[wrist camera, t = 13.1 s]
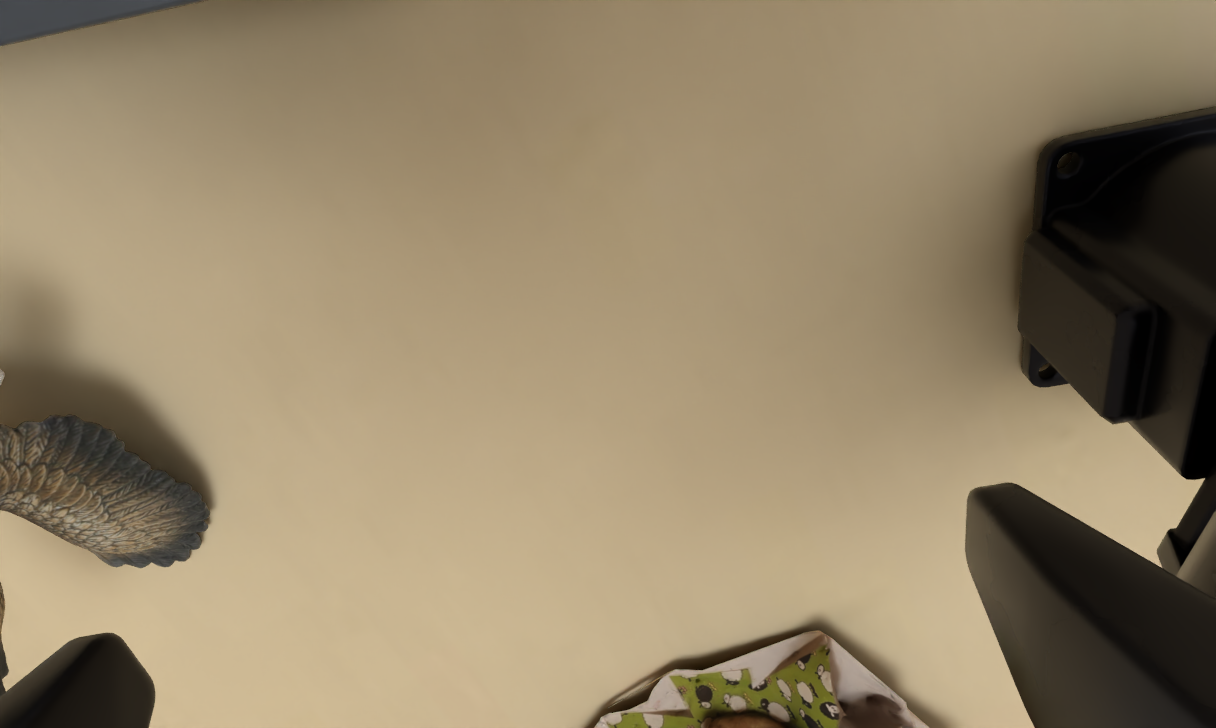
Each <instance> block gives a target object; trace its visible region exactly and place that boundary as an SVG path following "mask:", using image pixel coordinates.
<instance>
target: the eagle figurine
mask: <svg viewBox="0 0 1216 728" xmlns="http://www.w3.org/2000/svg"><path fill="white" fill-rule="evenodd" d="M3 379H4V372H3V371H2V370H1V369H0V386H1V384H2V381H3ZM124 447H125V443H124V442H123V441H122V440H119V439H118V438H116V434H115V432H114V431H113V430H110V429H106V428H103V427H102V426H101V425H99V424H96V423H91V422H84V421H83V420H81V419H80V418H79V417H77V416H75V415H70V414H69V415H67V416H64V417H62V416H59V415H50V416H49V417H48V418H46V419H45V420H44V421H42V422H34V421H27V422H23V423H21V424H20V425H19V426H18V427H17V428H15V429H13V428H11V427H9V426H7V425H4V424H0V510H3V511H8V512H11V513H13V514H15V515H17V516H20V517H22V518H24V519H26V520H28V521H30V522H32V523H34V524H36V525H38V526H40V527H42V528H44V529H46V530H47V531H49V532H51V533H53V534H55V535H56V536H58V537H60V538H62V539H64V540H66V541H68V542H70V543H72V544H74V545H77V546H80V547H82V548H85V549H88V550H89V551H91V552H93V553H94V554H95V555H96V556H97V557H98V558H100V559H101V560H102V561H104V562H105V563H107V564H108V565H110V566H113V567H119V566H122V565H124V564H128V565H132V566H135V567H138V568H143V567H146V566H147V565H149V564H150V563H151V562H152V563H154V564H156V565H158V566H162V567H169V566H171V565H172V564H173V562H174V561H175V560H177V561H186V560H187V559H188V558H189V557H190V552H189V551H190V550H195V549H198V548H200V546H201V539H200V536H199V535H198V534H197V533H196V532H202V531H205V530H206V529H207V528H208V525H207V524H206V523H205V521H204V520H205V519H207V518H208V517H209V515H210V511H209V510H208V508H207V505H206V503H205V502H203V501H201V499H202V496H201V494H199V493H198V492H196V491H193V490H192V486H191V485H190V484H188V483H186V482H182V483H177V482H175V480H174V478H172V477H171V476H169V475H168V474H167V472H165V471H162V470H151V466H150V464H148V463H147V462H146V461H141V460H140V458H139V456H138V455H136V454H135V453H132V452H126V451H125V450H124ZM4 611H5V599H4V595H3V589H2V586H1V583H0V696H2V695H3V694H4V693H5V692H6V691H5V688H4V686H3V682H2V679H3V678H4V677H5V676H6V675H7V674H8V672H9V670H8V666H7V663H6V657H5V653H4V650H3V645H2V641H1V629H2V623H3V618H4Z"/></svg>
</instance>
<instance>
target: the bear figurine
mask: <svg viewBox="0 0 1216 728" xmlns="http://www.w3.org/2000/svg"><path fill="white" fill-rule="evenodd" d="M668 673H669V674H668ZM668 673H666V674H667V675H666V674H664V675H662V676H661V677H662V679H661V680H660V681H659V682H658V684H657V685H656V686H655V687H654V689H653V691H652V693H651V695H650V697H649V699H648V701H646V702H644V703H642V704H640V705H638V706H636V707H634V708H632V709H630V710H625V711H620V712H615V713H613V714H612V713H609V714H606V715H605V716H603V717H600V721H599V722H598V723H597V725H596V726H595V727H594V728H929V727H928V726H927V725H926V724H925V723H924V722H923V721H921V720H920V719H919V718H918V717H917V716H915V715H914V714H913V713H912V712H911V711H910V710H909V709H908V708H907V706H906V704H907V703H906V702H905V701H904V700H903V699H902V698H901V697H899V696H898V695H897V694H896V693H895V692H894V691H893V690H891V689H890V688H889V687H888V686H887V685H886V684H884V683H883V682H882V681H881V680H880V679H879V678H877V677H876V676H875V675H874V674H873V673H872V672H870V671H869V670H868V669H867V668H866V667H865V666H864V665H862V664H861V663H860V662H859V661H858V660H857V659H855V658H854V657H853V656H852V655H851V654H850V653H848V652H847V651H846V650H845V649H844V648H843V647H841V646H840V645H839V644H838V643H837V642H836V641H834V640H833V639H832V638H831V637H829V636H827V635H826V634H824V633H823V632H821V631H819V630H818V631H811V632H804V633H803V634H800V635H798V636H795V637H792V638H789V639H787V640H784V641H781V642H778V643H776V644H773V645H770V646H768V647H765V648H762V649H759V650H757V651H754V652H751V653H748V654H746V655H743V656H740V657H738V658H735V659H732V660H729V661H727V662H724V663H721V664H718V665H716V666H713V667H710V668H708V669H705V670H683V669H675V670H674V671H670V672H668ZM665 675H666V676H665ZM663 676H664V677H663ZM661 677H659V678H661ZM659 678H657V679H656V680H658V679H659ZM656 680H654V681H656ZM654 681H653V682H654ZM651 683H652V682H651ZM649 684H650V683H649ZM649 684H648V685H649ZM646 686H647V685H646ZM644 687H645V686H644ZM641 689H642V688H641ZM639 690H640V689H639ZM634 693H635V692H634ZM629 696H630V695H629ZM627 697H628V696H627ZM624 699H625V698H624ZM622 700H623V699H622ZM620 701H621V700H620ZM620 701H619V702H620ZM617 703H618V702H617ZM615 704H616V703H615ZM615 704H613V705H615ZM613 705H612V706H613ZM612 706H610V707H612ZM610 707H608V708H610Z"/></svg>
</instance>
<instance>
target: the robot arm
mask: <svg viewBox="0 0 1216 728" xmlns="http://www.w3.org/2000/svg"><path fill="white" fill-rule="evenodd" d="M1070 152H1071V154H1072V157H1071V160H1070V162H1069V163H1068V164H1067V165H1066V166H1065V167H1063V168H1061V169H1058V167H1057V165H1058V163H1059V160H1060V159H1061V158H1062V157H1063V156H1064V155H1065V154H1068V153H1070ZM1018 330H1019V332H1020V333H1021V334H1022V335H1023V336H1024V340H1023V353H1022V366H1021V367H1022V372H1023V374H1024V375H1025V376H1026V377H1027V378H1028V379H1029V381H1030V382H1031V383H1032V384H1033V385H1035V386H1037V387H1051V386H1057V385H1063V384H1070V385H1071V386H1072V387H1073V388H1074V389H1075V390H1076V391H1077V392H1078V393H1079V394H1080V395H1081V396H1082V397H1083V398H1084V399H1085V400H1086V402H1087V403H1088V404H1089V405H1090V406H1091V407H1092V408H1093V409H1094V410H1095V411H1096V412H1097V413H1098V414H1099V415H1100V416H1101V417H1103V418H1104V419H1106V420H1107V421H1108V422H1110V423H1112V424H1118V423H1124V422H1128V423H1129V424H1130V425H1131V426H1132V427H1133V428H1134V429H1135V430H1136V431H1137V432H1138V433H1139V434H1140V435H1141V436H1142V437H1143V438H1144V439H1145V440H1146V441H1147V442H1148V443H1149V444H1150V445H1151V446H1152V447H1153V448H1154V449H1155V450H1156V451H1157V452H1158V453H1159V454H1160V455H1161V456H1162V457H1163V458H1164V459H1165V460H1166V461H1167V462H1168V463H1169V464H1170V465H1171V466H1172V467H1173V468H1174V469H1175V470H1176V471H1177V472H1178V473H1179V474H1180V475H1181V476H1183V477H1184V478H1185V479H1190V480H1196V479H1202V478H1205V480H1204V482H1203V483H1202V485H1201V487H1200V489H1199V490H1198V492H1197V494H1196V495H1195V497H1194V499H1193V501H1192V502H1191V504H1190V506H1189V507H1188V509H1187V511H1186V513H1185V514H1184V516H1183V518H1182V519H1181V521H1180V523H1179V525H1178V526H1177V528H1174V529H1170V530H1168V532H1167V533H1166V535H1165V537H1164V539H1163V540H1162V542H1161V544H1160V545H1159V547H1158V549H1157V554H1158V557H1159V560H1160V562H1161V565H1162V568H1161V567H1159V566H1157V565H1156V564H1154V563H1152V562H1151V561H1149V560H1147V559H1145V558H1144V557H1142V556H1140V555H1138V554H1137V553H1135V552H1133V551H1132V550H1130V549H1128V548H1126V547H1125V546H1123V545H1121V544H1119V543H1118V542H1116V541H1114V540H1113V539H1111V538H1109V537H1107V536H1106V535H1104V534H1102V533H1100V532H1099V531H1097V530H1095V529H1094V528H1092V527H1090V526H1088V525H1087V524H1085V523H1083V522H1081V521H1080V520H1078V519H1076V518H1075V517H1073V516H1071V515H1069V514H1068V513H1066V512H1064V511H1063V510H1061V509H1059V508H1057V507H1056V506H1054V505H1052V504H1050V503H1049V502H1047V501H1045V500H1044V499H1042V498H1040V497H1038V496H1037V495H1035V494H1033V493H1031V492H1030V491H1028V490H1026V489H1025V488H1023V487H1021V486H1019V485H1017V484H1014V483H1001V484H995V485H989V486H983V487H977V488H975V489H973V490H972V491H971V492H970V493H969V496H968V499H967V516H966V540H965V552H966V559H967V564H968V567H969V570H970V573H971V576H972V578H973V581H974V583H975V586H976V588H977V590H978V593H979V595H980V598H981V600H982V603H983V605H984V608H985V610H986V613H987V615H988V618H989V620H990V623H991V625H992V628H993V630H994V633H995V635H996V637H997V640H998V642H999V645H1000V647H1001V650H1002V652H1003V655H1004V657H1005V660H1006V662H1007V665H1008V667H1009V670H1010V672H1011V675H1012V677H1013V680H1014V682H1015V685H1016V687H1017V689H1018V692H1019V694H1020V696H1021V699H1022V701H1023V703H1024V706H1025V708H1026V710H1027V713H1028V715H1029V717H1030V719H1031V721H1032V723H1033V725H1034V727H1035V728H1216V107H1211V108H1206V109H1201V110H1196V111H1191V112H1186V113H1181V114H1176V115H1170V116H1165V117H1160V118H1155V119H1150V120H1145V121H1140V122H1134V123H1129V124H1124V125H1119V126H1114V127H1109V128H1104V129H1098V130H1093V131H1088V132H1083V133H1078V134H1073V135H1068V136H1062V137H1060V138H1057V139H1054V140H1053V141H1051V142H1050V143H1049V144H1047V145H1046V146H1045V147H1044V149H1043V150H1042V152H1041V153H1040V156H1039V159H1038V163H1037V176H1036V189H1035V201H1034V214H1033V227H1032V232H1031V233H1030V234H1029V235H1028V237H1027V238H1026V240H1025V241H1024V247H1023V260H1022V274H1021V287H1020V301H1019V314H1018ZM1047 363H1050V366H1049V367H1048V368H1046V369H1045V370H1043V371H1039V370H1040V368H1041V367H1042V366H1043V365H1044V364H1047ZM154 703H155V688H154V684H153V681H152V679H151V677H150V676H149V674H148V673H147V672H146V670H145V669H144V667H143V666H142V665H141V663H140V662H139V661H138V659H137V658H136V657H135V655H134V654H133V653H132V651H131V650H130V648H129V647H128V646H127V644H126V643H125V642H124V640H123V639H122V638H121V637H119V636H118V635H116V634H114V633H102V634H96V635H90V636H84V637H79V638H76V639H73V640H71V641H69V642H68V643H67V644H65V645H64V646H63V647H61V648H60V649H59V650H58V651H56V652H55V653H54V654H53V655H51V656H50V657H49V658H48V659H46V660H45V661H44V662H43V663H41V664H40V665H39V666H38V667H36V668H35V669H34V670H33V671H31V672H30V673H29V674H28V675H26V676H25V677H24V678H23V679H21V680H20V681H19V682H18V683H17V684H15V685H14V686H13V687H12V688H10V689H9V690H8V691H7V692H5V693H4V694H3V695H2V696H0V728H149V724H150V720H151V716H152V712H153V708H154Z"/></svg>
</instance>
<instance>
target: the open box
mask: <svg viewBox="0 0 1216 728" xmlns="http://www.w3.org/2000/svg"><path fill="white" fill-rule="evenodd" d="M202 1H207V0H0V46H5V45H9V44H14V43H18V42H23V41H27V40H32V39H36V38H41V37H45V36H50V35H54V34H59V33H63V32H68V31H72V30H77V29H81V28H86V27H90V26H95V25H99V24H104V23H108V22H113V21H117V20H122V19H126V18H131V17H135V16H139V15H144V14H148V13H153V12H157V11H162V10H166V9H171V8H175V7H180V6H184V5H189V4H193V3H198V2H202Z"/></svg>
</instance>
